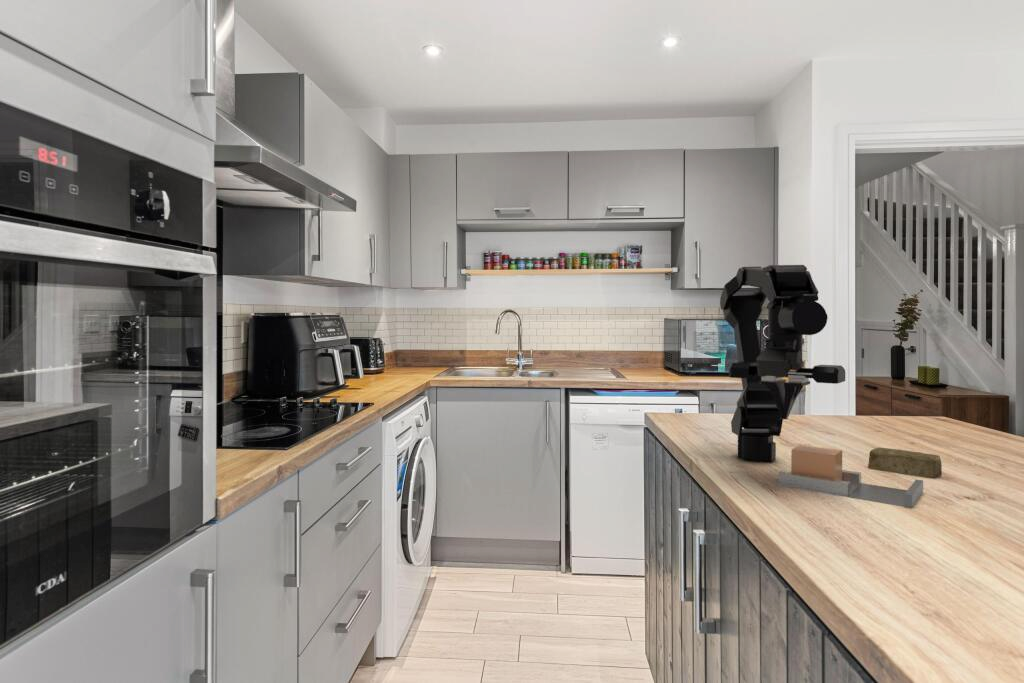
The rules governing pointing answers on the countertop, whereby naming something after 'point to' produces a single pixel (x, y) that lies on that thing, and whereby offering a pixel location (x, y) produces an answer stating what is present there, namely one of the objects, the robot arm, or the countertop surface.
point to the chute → (853, 488)
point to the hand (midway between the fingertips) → (784, 418)
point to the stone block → (905, 462)
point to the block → (817, 462)
